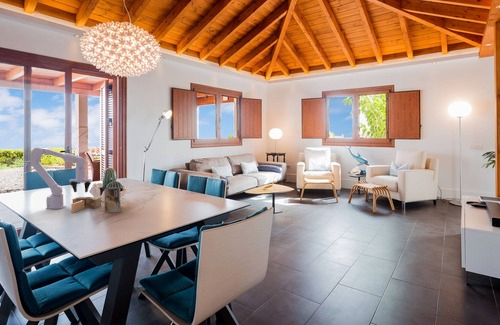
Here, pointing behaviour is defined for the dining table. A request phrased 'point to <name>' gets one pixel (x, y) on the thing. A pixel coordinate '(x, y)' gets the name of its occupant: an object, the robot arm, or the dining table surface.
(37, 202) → the dining table surface
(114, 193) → the coffee box
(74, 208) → the tall wooden plank
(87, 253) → the dining table surface
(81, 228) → the dining table surface
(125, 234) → the dining table surface
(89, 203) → the wooden block
